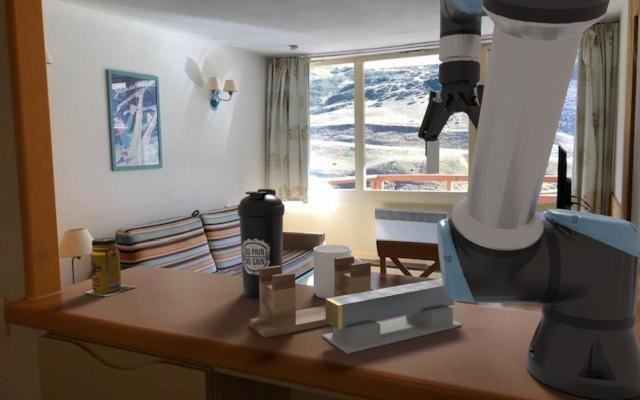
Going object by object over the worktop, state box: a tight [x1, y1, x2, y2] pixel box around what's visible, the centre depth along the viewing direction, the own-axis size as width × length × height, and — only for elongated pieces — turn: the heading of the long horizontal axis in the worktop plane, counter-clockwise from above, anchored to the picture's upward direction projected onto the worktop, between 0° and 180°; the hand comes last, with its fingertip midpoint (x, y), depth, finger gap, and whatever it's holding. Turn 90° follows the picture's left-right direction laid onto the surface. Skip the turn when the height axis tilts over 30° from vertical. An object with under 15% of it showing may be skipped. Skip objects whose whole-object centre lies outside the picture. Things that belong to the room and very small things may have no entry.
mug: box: [312, 244, 362, 300], centre depth 111 cm, size 12×8×10 cm
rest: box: [321, 306, 463, 355], centre depth 90 cm, size 8×24×3 cm, turn 119°
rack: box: [249, 255, 372, 339], centre depth 95 cm, size 7×24×10 cm, turn 119°
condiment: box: [84, 237, 137, 297], centre depth 116 cm, size 7×8×12 cm
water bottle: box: [237, 188, 286, 300], centre depth 112 cm, size 10×10×23 cm
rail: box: [324, 277, 458, 330], centre depth 89 cm, size 26×4×4 cm, turn 119°
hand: (456, 175), depth 98 cm, fingers open, 13 cm apart
